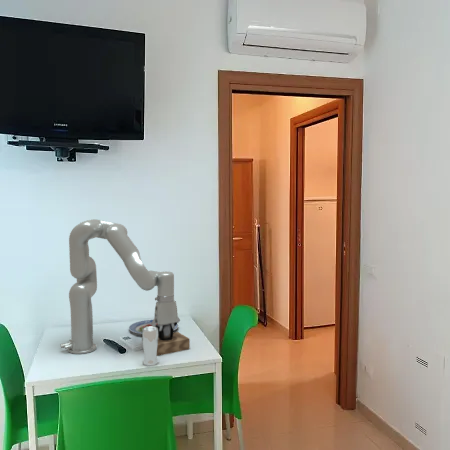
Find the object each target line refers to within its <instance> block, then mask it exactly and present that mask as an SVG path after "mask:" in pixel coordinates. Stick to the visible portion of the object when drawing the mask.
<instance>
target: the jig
mask: <svg viewBox="0 0 450 450" xmlns="http://www.w3.org/2000/svg"><path fill="white" fill-rule="evenodd" d="M190 341H191V340H190V337H187V336H186V335H184V334H183V333H180V332H179V331H176V332H175V331H174V334H173V337H171V340H168V341H163V340H161V339H160V338H159V341H158V348H157V357H159V356H163V355H169V354H172V353H173V354H174V353H178V352H183V351H188V350H190V345H191V343H190Z"/></svg>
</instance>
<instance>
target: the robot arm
mask: <svg viewBox="0 0 450 450" xmlns="http://www.w3.org/2000/svg"><path fill="white" fill-rule="evenodd" d="M95 238H99V239H103V240H106V241H107V242H108V243H109V244H110V246H111V247H112V248H113V250H114V251H115V252H116V254H117V255H118V257H119V258H120V259H121V260H122V262H123V264H124V266H125V268H126V270H127V271H128V273H129V275H130V276H131V278H132V279H133V280H134V282H135V283H136V284H137V286H138V287H139V288H140V289H141V290H143V291H146V292H147V291H148V292H149V291H151V290H153V289H154V288H155V287H156V288H157V294H156V297H155V298H154V300H155V301H156V303H155V308H154V316H153V317H154V318H153V319H152V320H153V321H152V323H151V325H152V326H154V327H157V328H158V336H159V338H160V339H163V331H162V326H163V325H165V324H171V337H173V334H174V332H175V330H174V328H175V326H176V325H177V324H179V322H180V321H181V319H180V318H179V316H178V315H179V314H178V305H177V301H175V273H173V272H172V271H154V270H148V268H147V267H146V266H145V264H144V263H143V261H142V258H141V255H140V251H139V249H138V247H137V246H136V245H135V244H134V242H133V241H132V239H131V238H130V237H129V236H128V230H127V228H126V226H124V225H123V224H121V223H118V222H117V223H116V222H111V221H107V220H106V221H105V220H101V219H89V220H84V221H82V222H80V223H78V224H77V225H75V226H74V227H73V228H72V229H71V230H70V233H69V236H68V246H69V247H68V248H69V249H68V250H69V251H68V252H69V255H68V256H69V272H70V275H71V276H72V277H73V278H74V279H76V282H75V283H74V284H72V286H71V287H70V289H69V292H68V299H69V308H70V335H71V336H70V339H69V341H68V342H64V343H60V349H65V350H66V349H67V352H68V353H71V354H75V355H80V354H83V355H84V354H88V353H93V352H94V351H95V350H97V347H98V346H97V344H95V343H94V323H93V322H94V319H93V317H94V315H93V303H92V297H93V296H94V295H95V293H97V289H98V281H97V280H98V279H97V265H96V261H95V259H94V258H93V257H92V256H90V248H89V240H92V239H95ZM155 323H157V324H158V325H156V324H155Z"/></svg>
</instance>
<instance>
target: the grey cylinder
mask: <svg viewBox="0 0 450 450" xmlns="http://www.w3.org/2000/svg"><path fill="white" fill-rule="evenodd" d="M162 331H163V339H161V340H163V341H168V340H171V324H165V325H163V326H162Z"/></svg>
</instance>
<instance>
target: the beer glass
mask: <svg viewBox="0 0 450 450" xmlns="http://www.w3.org/2000/svg"><path fill="white" fill-rule="evenodd" d="M158 341H159V336H158V328H157V327H153V326H149V327H144V328H143V329H142V334H141V343H142V350H143V361H142V363H143V365H144V366H147V367H148V366H149V367H150V366H156V365H157V364H159V363H158V356H157V348H158Z"/></svg>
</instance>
